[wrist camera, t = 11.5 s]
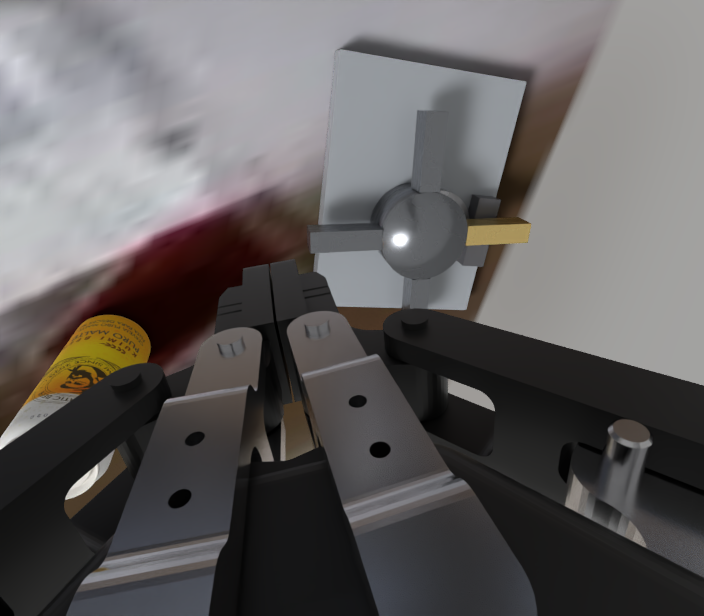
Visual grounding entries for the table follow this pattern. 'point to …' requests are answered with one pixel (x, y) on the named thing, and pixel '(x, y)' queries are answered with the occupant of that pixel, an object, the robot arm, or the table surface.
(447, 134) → the stand
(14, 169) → the table surface
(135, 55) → the table surface
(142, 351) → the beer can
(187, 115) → the table surface
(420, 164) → the valve handle
